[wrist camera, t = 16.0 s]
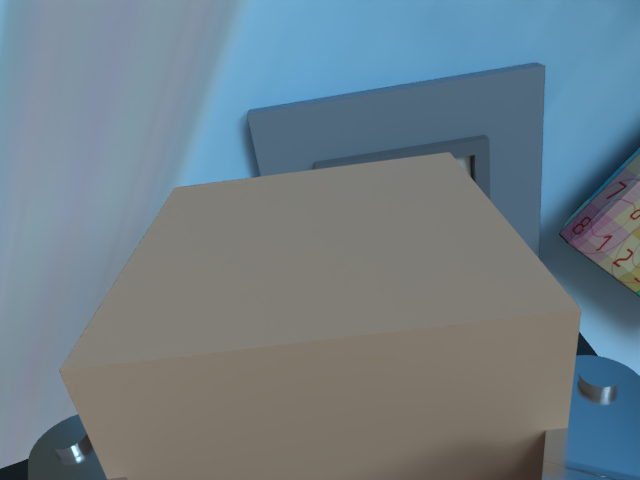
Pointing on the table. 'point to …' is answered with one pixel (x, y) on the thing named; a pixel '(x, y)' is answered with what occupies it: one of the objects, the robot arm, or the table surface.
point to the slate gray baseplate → (424, 134)
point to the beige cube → (329, 334)
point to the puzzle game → (611, 225)
